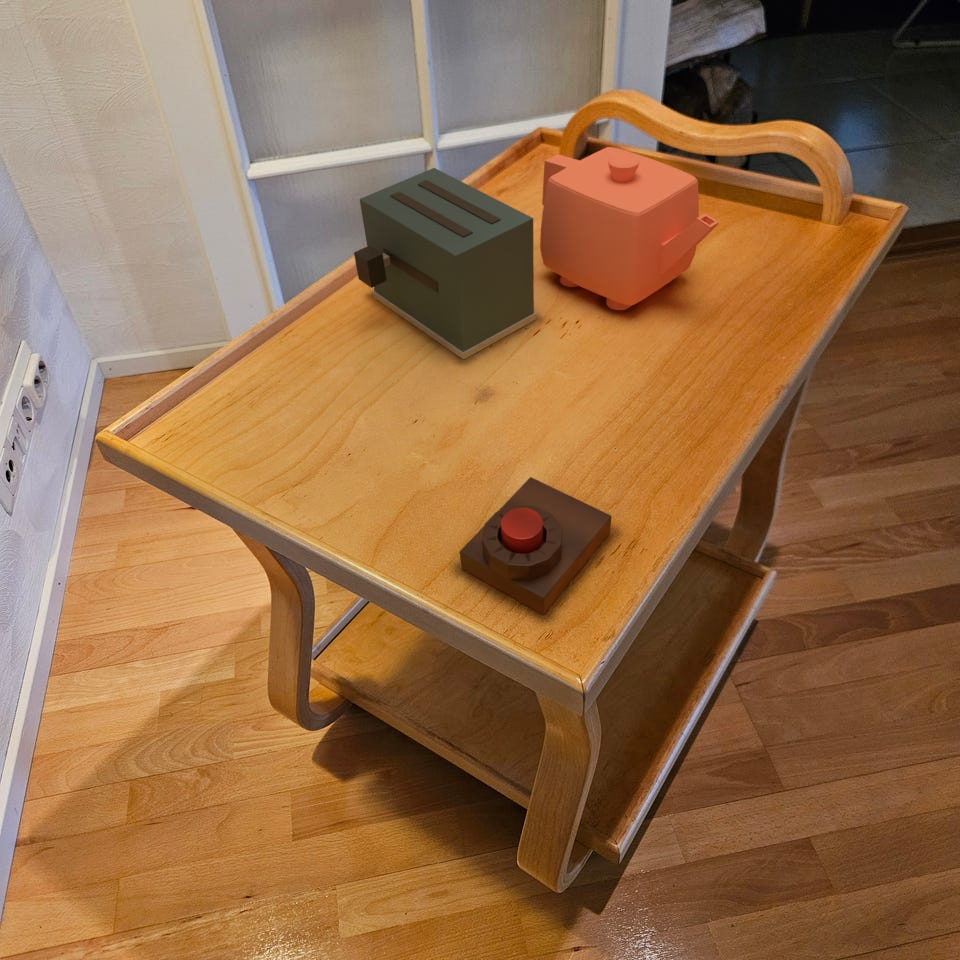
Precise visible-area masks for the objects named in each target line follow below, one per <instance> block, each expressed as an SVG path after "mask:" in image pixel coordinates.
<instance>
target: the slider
mask: <svg viewBox="0 0 960 960" xmlns="http://www.w3.org/2000/svg"><path fill="white" fill-rule="evenodd" d="M353 255H354V256H353V257H354V260H355V267H356V272H357V278H358V280H359V281H360V282H362V283H363V284H364V285H366V286H368V287H369V288H371V289H373V288H374V286H377V285H379V284H381V283H383V282H385V281H387V280H386V273H385V267H387V266H389V265H391V264H390V257H389V256H388V255H386V254H385V253H383V254H382V253H380V252H379V251H377V250H376V249H374V248H373V247H371V246H367V245H366V246H365V247H363V248H361V249H358V250H356V251H354V252H353Z"/></svg>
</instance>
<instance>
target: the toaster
mask: <svg viewBox="0 0 960 960" xmlns="http://www.w3.org/2000/svg"><path fill="white" fill-rule="evenodd" d="M359 204H360V205H359V206H360V211H361V216H362V222H363V223H362V224H363V230H364V235H365V242H366V247H367V246H371V247H373V248H374V249H376V250H377V251H379V252H380V253H382V254H383V253H385V254H386V255H388V256H389V257H390V264H391V265H389V266H387V267H385V273H386V280H387V281H385V282H383V283H381V284H379V285H377V286H374V287H373V290H372V291H371V292H372V297H373V298H374V299H376V300H377V301H378V302H379V303H381V304H382V305H384V306H385V307H386V308H388V309H389V310H391V311H392V312H394V313H396V314H397V315H398V316H400V317H401V318H403V319H404V320H405V321H407V322H409V323H410V324H412V325H413V326H414V327H415V328H417V329H419V330H420V332H421V331H422V332H423V333H424V334H426V335H427V336H428V337H430V338H432V339H433V340H434V341H435V342H437V343H439V344H440V345H441V346H442V347H444V348H445V349H447V350H449V351H450V352H452V353H453V354H454V355H456V356H457V357H459V358H460V359H461V360H466V359H467V358H470V357H471V356H473V355H475V354H477V353H479V352H480V351H482V350H485V348H487V347H489V346H491V345H493V344H495V343H497V342H498V341H500V340H502V339H504V338H505V337H507V336H509V335H511V334H512V333H514V332H517V331H518V330H520V329H522V328H523V327H525V326H527V325H528V324H531V323H532V322H534V321H535V320H537V312H535V307H534V305H535V301H534V299H535V293H534V289H535V288H534V287H535V286H534V285H535V284H534V283H535V282H534V281H535V279H534V277H535V275H534V267H535V266H534V265H535V264H534V261H535V260H534V217H532V216H530V215H528V214H526V213H524V212H522V211H520V210H519V209H516V208H515V207H512V206H511V205H509V204H507V203H505V202H504V201H503V202H502V201H501V200H498V199H497V198H494V197H492V196H491V195H490V194H489V195H488V194H487V193H484V192H483V191H481V190H479V189H477V188H475V187H473V186H471V185H469V184H467V183H466V182H463V181H462V180H459V179H457V178H456V177H453V176H452V175H450V174H447V173H445V172H443V171H441V170H440V169H437V168H436V167H431V168H430V169H428V170H425V171H423V172H420V173H418V174H415V175H413V176H411V177H409V178H406V179H404V180H402V181H399V182H396V183H394V184H391V185H389V186H388V187H387V186H386V187H385V188H382V189H380V190H377V191H375V192H373V193H370V194H368V195H366V196H363V197H361V198H359Z"/></svg>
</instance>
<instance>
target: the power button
mask: <svg viewBox="0 0 960 960" xmlns="http://www.w3.org/2000/svg"><path fill="white" fill-rule="evenodd" d="M501 536H502V542H503V544H504V546H505V547H506V548H507V549H508V550H510V551H512V552H515V553H530V552H532V551H534V550H536V549H537V548H538V547H539V546H540V545H541V543H542V541H543V520H542V518H541V516H540V515H539V514H538V513H537V512H536V511H534V510H532V509H528V508H516V509H513V510H510V511H509V512H507V513H506V514H505V515H504V516H503V518H502V520H501Z"/></svg>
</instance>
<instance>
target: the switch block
mask: <svg viewBox="0 0 960 960" xmlns="http://www.w3.org/2000/svg"><path fill="white" fill-rule="evenodd" d="M516 508H528V509H532V510H534V511H536V512H537V513H538V514H539V515H540V516H541V518H542V520H543V541H542V543H541V545H540V546H539V547H538V548H537V549H536V550H534V551H532V552H530V553H515V552H512V551H510V550H508V549H507V548H506V547H505V546H504V544H503V542H502V536H501V520H502V518H503V516H504V515H505V514H506V513H507V512H509V511H510V510H513V509H516ZM612 518H613V517H612V515H611V514H609V513H607V512H605V511H602V510H600V509H598V508H596V507H594V506H592V505H590V504H588V503H586V502H584V501H582V500H579V499H578V498H576V497H573V496H572V495H569V494H567V493H565V492H563V491H561V490H559V489H557V488H554V487H553V486H550V485H549V484H546V483H544V482H542V481H540V480H538V479H536V478H535V477H532V476H530V477H529V478H528V479H527V480H526V481H525V482H524V483H523V484H522V485H521V486H520V487H519V488H518V489H517V491H516V492H515V493H513V494H512V496H510V498H509V499H508V500H507V501H506V502H505V503H504V504H503V506H501V508H499V510H497V511H495V512H494V513H493V515H491V517H490V518H489V519H488V520H487V521H486V522H485V523H484V525H483V526H482V528H480V529H479V530H478V531H477V533H476V534H474V536H472V538H471V539H470V540H469V541H468V542H467V543H466V544H465V545H464V546H463V547H462V548H461V549H460V551H459V559H460V566H461V567H460V568H461V570H463V571H465V572H467V573H468V574H470V575H471V576H473V577H475V578H478V579H479V580H481V581H482V582H484V583H486V584H488V585H490V586H491V587H493V588H495V589H497V590H498V591H500V592H502V593H504V594H506V595H508V596H509V597H511V598H513V599H515V600H516V601H518V602H520V603H521V604H523V605H525V606H526V607H528V608H530V609H532V610H534V611H536V612H538V613H540V614H541V615H543V616H544V615H545V614H546V613H547V611H549V609H550V608H551V607H552V605H553V604H554V603H555V602H556V600H557V599H558V598H559V597H560V596H561V594H562V593H563V592H564V591H565V589H566V588H567V587H568V586H569V584H570V583H571V582H572V581H573V580H574V578H575V577H576V576H577V575H578V573H579V572H580V571H581V570H582V568H583V567H584V566H585V564H586V563H587V562H588V561H589V560H590V559H591V557H592V556H593V555H594V554H595V552H596V551H597V550H598V549H599V547H600V546H601V545H602V544H603V543H604V541H605V540H606V539H607V537H608V536H609V535H610V534H611V527H612Z"/></svg>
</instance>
